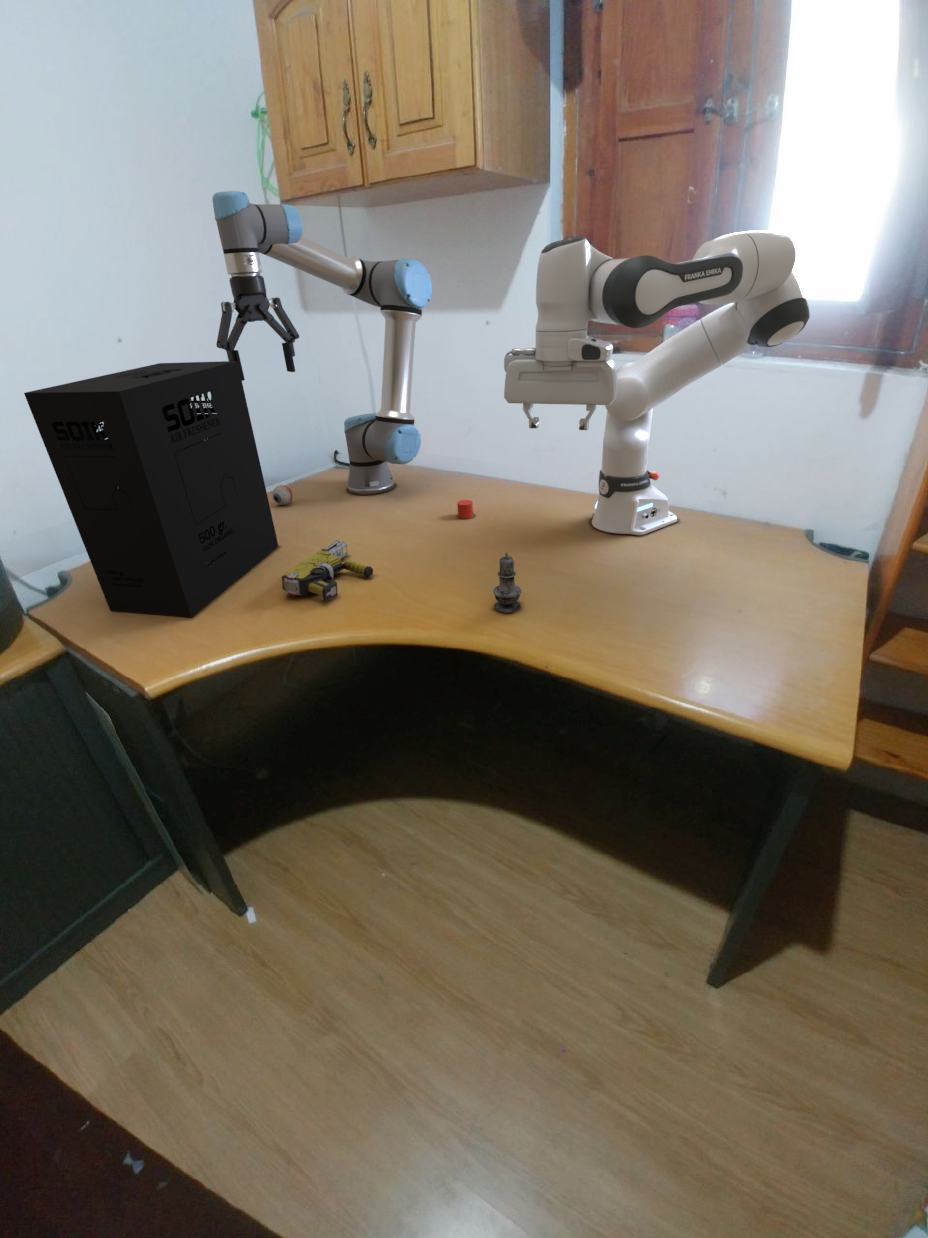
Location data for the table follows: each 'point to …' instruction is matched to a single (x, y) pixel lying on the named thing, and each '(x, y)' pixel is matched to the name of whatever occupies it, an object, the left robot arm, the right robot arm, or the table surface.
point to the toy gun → (321, 572)
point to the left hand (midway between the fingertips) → (266, 375)
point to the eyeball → (282, 495)
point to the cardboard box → (160, 481)
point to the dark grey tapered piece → (507, 586)
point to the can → (465, 509)
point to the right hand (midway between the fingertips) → (558, 428)
